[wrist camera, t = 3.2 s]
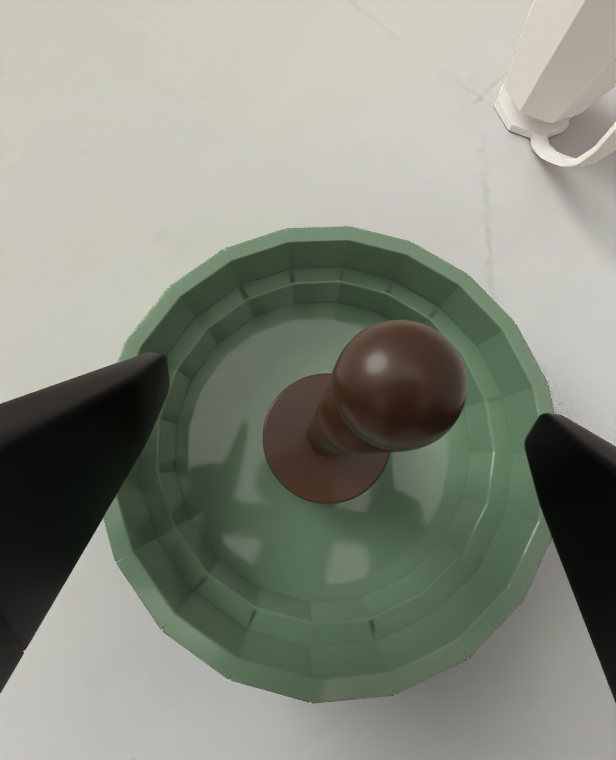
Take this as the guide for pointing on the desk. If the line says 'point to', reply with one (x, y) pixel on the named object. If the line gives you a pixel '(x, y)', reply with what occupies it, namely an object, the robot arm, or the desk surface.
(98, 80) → the desk surface
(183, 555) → the bowl
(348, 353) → the knob-topped peg stand
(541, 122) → the cup
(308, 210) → the desk surface
